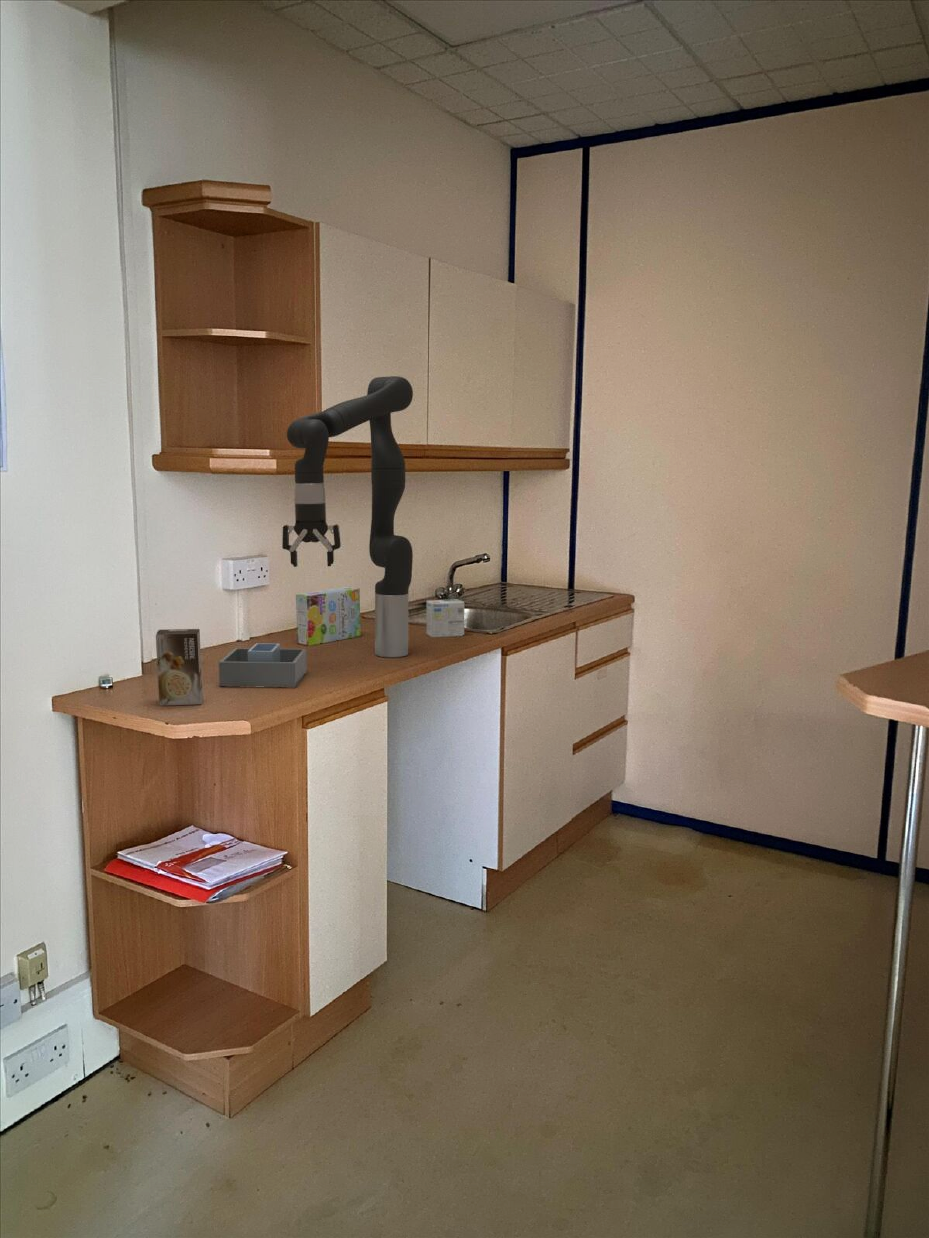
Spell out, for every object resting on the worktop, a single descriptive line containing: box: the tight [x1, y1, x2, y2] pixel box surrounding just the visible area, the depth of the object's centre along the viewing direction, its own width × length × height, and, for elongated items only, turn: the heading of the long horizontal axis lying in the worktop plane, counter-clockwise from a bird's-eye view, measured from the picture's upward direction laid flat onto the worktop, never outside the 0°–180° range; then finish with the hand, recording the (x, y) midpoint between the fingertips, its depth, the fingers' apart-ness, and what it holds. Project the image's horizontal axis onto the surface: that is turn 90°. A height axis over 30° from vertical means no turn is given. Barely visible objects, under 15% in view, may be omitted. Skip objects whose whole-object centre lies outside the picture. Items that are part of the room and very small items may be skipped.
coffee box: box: [155, 628, 204, 707], centre depth 216 cm, size 9×6×16 cm
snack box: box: [295, 586, 362, 647], centre depth 290 cm, size 21×6×15 cm, turn 141°
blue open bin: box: [247, 642, 281, 662], centre depth 239 cm, size 10×6×7 cm, turn 0°
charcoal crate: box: [218, 647, 308, 689], centre depth 239 cm, size 17×18×6 cm
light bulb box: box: [425, 598, 465, 639], centre depth 301 cm, size 11×7×11 cm, turn 111°
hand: (312, 566), depth 245 cm, fingers open, 8 cm apart
